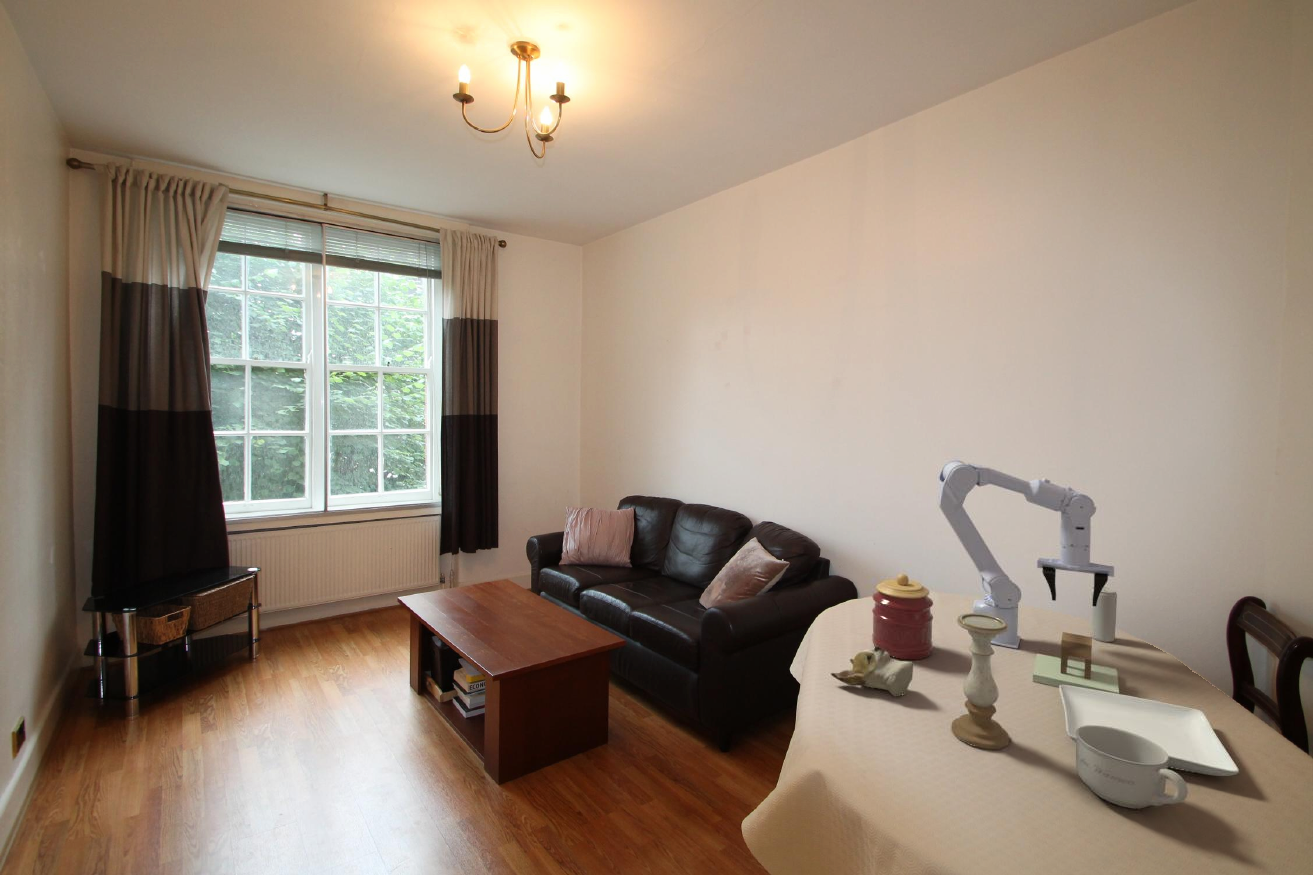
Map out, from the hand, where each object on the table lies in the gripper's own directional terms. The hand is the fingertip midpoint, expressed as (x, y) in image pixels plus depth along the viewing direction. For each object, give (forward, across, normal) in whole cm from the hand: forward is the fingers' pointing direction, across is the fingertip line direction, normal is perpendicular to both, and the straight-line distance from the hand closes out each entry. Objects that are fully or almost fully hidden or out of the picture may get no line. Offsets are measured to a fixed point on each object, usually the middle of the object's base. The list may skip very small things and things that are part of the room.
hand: (1073, 602), depth 140 cm
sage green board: (+10, +1, -19) cm, 22 cm away
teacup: (+10, +8, -60) cm, 61 cm away
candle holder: (+10, -12, -53) cm, 55 cm away
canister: (+10, -32, -23) cm, 41 cm away
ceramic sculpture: (+10, -32, -45) cm, 56 cm away
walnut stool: (+9, +1, -19) cm, 21 cm away
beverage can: (+11, +6, +9) cm, 15 cm away
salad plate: (+11, +10, -39) cm, 42 cm away
